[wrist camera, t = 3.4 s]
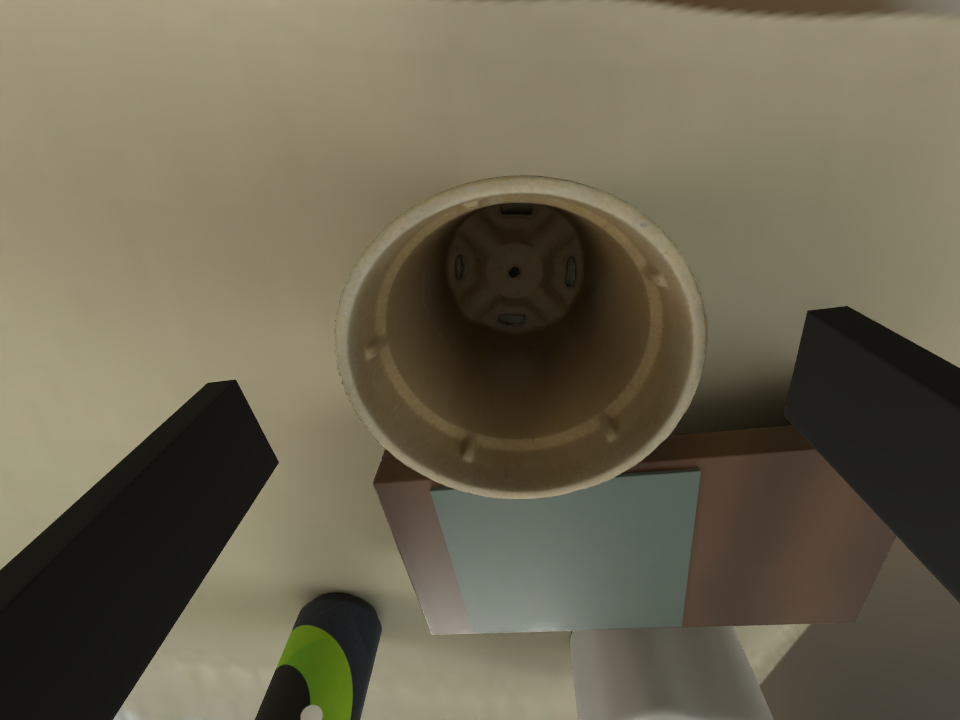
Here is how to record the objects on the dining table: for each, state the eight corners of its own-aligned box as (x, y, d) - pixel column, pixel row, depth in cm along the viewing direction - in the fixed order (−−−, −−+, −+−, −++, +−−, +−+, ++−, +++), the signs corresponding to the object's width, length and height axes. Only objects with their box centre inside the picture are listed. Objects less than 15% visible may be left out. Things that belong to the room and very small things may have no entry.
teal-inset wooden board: (849, 368, 20) (949, 442, 15) (798, 537, 26) (859, 627, 21) (397, 413, 23) (370, 487, 18) (442, 556, 29) (430, 639, 24)
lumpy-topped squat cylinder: (744, 599, 29) (826, 768, 22) (678, 689, 36) (723, 843, 28) (592, 580, 29) (622, 743, 21) (554, 674, 35) (566, 824, 28)
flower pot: (458, 386, 22) (433, 529, 14) (363, 208, 18) (257, 277, 10) (646, 324, 19) (733, 455, 12) (587, 102, 15) (664, 90, 8)
